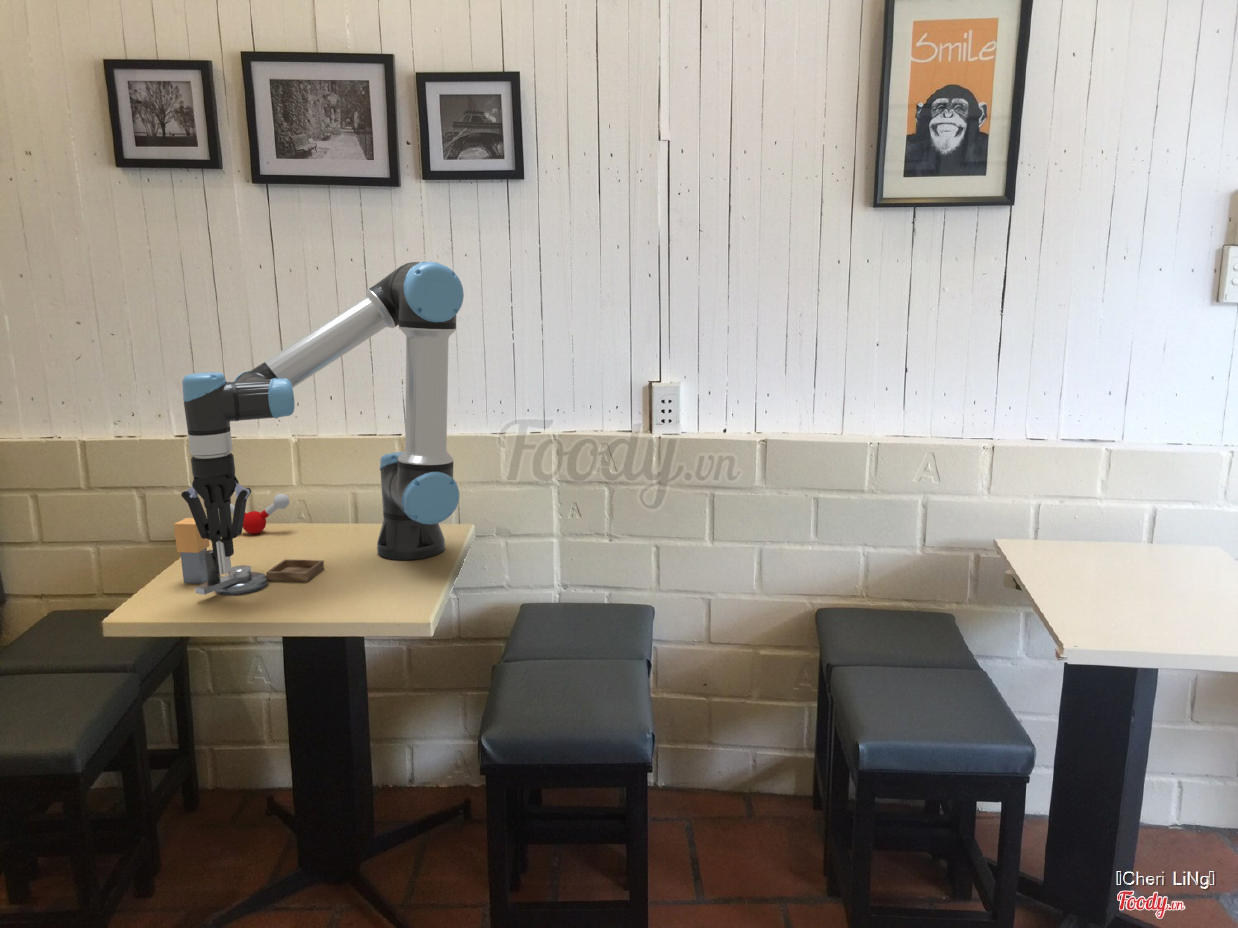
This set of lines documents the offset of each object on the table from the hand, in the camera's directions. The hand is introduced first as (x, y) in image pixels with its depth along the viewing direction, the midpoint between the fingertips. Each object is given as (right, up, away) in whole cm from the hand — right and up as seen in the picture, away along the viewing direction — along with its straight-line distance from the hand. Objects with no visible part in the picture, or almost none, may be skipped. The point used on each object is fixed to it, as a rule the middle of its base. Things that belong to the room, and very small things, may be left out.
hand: (225, 571), depth 184 cm
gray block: (-11, -3, +11) cm, 16 cm away
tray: (+9, -2, +15) cm, 17 cm away
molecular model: (-12, +4, +46) cm, 47 cm away
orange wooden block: (-11, +4, +10) cm, 15 cm away
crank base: (0, -4, +8) cm, 9 cm away
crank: (-2, -3, +4) cm, 5 cm away
